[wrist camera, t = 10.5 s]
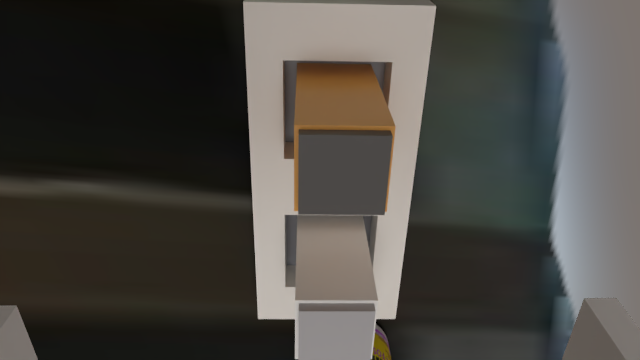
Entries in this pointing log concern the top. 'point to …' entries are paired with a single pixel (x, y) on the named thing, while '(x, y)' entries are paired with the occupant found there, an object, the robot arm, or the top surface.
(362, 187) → the plug
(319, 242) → the twin plug
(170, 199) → the top surface
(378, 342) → the supplement bottle
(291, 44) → the pdu strip
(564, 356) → the robot arm
